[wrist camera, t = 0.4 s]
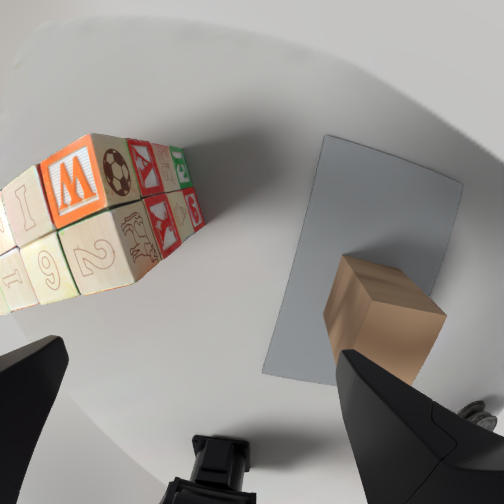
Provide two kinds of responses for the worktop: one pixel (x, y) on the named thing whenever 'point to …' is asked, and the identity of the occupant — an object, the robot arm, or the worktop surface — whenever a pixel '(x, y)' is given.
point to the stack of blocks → (92, 219)
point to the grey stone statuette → (479, 415)
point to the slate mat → (357, 244)
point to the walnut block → (381, 317)
